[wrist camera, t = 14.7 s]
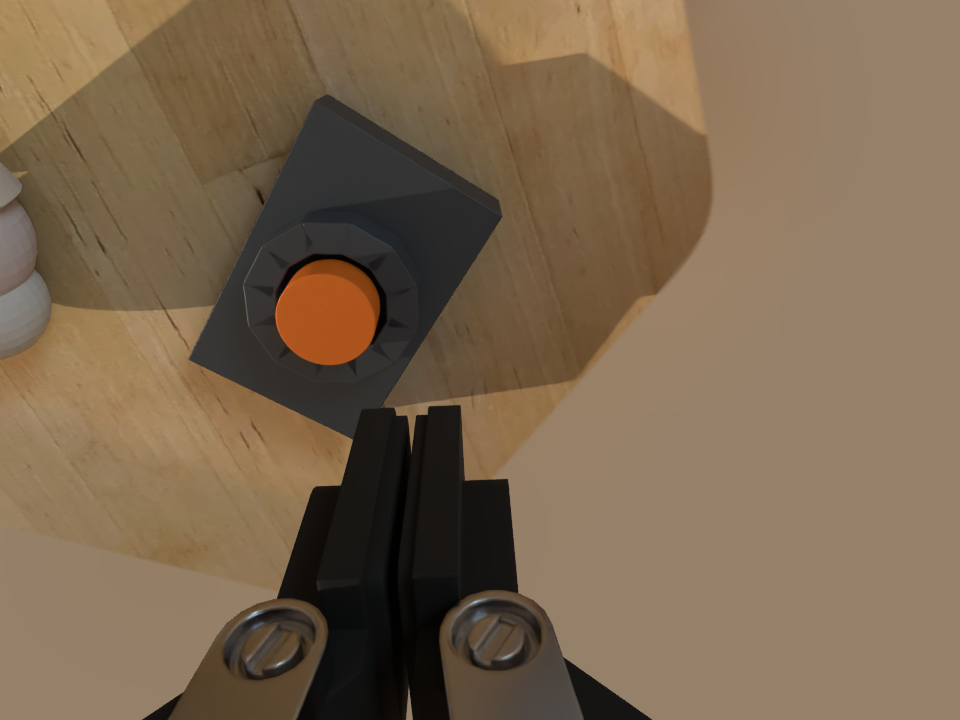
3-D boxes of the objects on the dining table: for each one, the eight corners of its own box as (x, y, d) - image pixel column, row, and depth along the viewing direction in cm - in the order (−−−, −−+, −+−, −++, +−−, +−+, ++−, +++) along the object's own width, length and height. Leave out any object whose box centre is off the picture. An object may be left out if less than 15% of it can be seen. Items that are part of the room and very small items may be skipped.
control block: (327, 93, 27) (304, 106, 23) (498, 200, 29) (505, 228, 25) (208, 333, 31) (171, 379, 27) (365, 412, 33) (352, 465, 29)
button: (311, 240, 25) (301, 254, 24) (397, 288, 26) (393, 305, 25) (270, 318, 27) (258, 336, 25) (353, 361, 28) (347, 381, 26)
